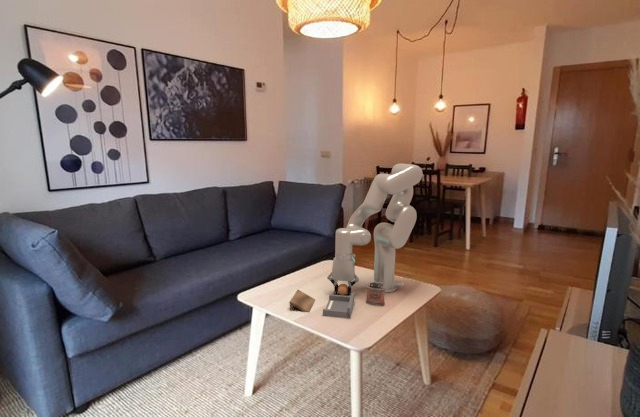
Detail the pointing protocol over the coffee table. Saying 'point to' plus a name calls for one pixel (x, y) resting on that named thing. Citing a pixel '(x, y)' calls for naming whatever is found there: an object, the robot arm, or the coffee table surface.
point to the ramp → (301, 301)
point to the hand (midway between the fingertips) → (342, 293)
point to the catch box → (339, 306)
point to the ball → (342, 289)
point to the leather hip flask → (375, 293)
